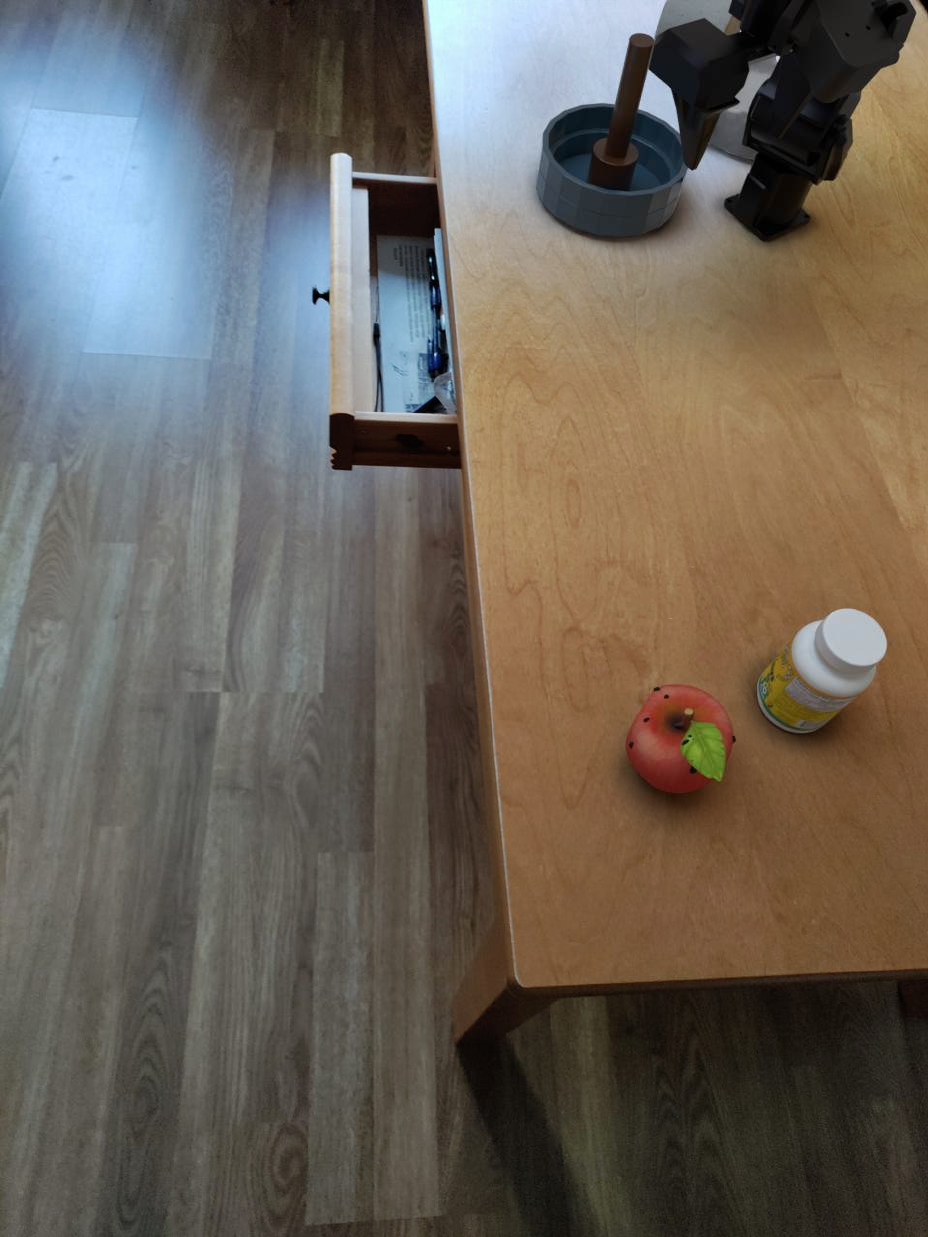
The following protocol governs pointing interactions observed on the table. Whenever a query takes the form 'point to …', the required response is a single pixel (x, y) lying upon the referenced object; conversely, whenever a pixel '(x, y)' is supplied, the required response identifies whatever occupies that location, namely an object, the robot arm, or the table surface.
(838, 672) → the supplement bottle
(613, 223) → the bowl
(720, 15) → the ceramic mug
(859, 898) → the table surface
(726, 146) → the dish
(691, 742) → the apple
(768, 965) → the table surface
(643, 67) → the pestle
